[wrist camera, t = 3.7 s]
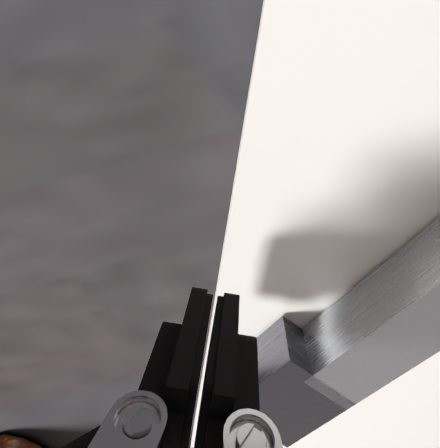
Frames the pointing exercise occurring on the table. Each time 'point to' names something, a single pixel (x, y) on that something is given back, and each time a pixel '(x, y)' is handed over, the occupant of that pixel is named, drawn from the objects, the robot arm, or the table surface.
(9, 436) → the sauce bottle
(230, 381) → the robot arm
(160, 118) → the table surface
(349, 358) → the arm
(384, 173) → the cutting board
